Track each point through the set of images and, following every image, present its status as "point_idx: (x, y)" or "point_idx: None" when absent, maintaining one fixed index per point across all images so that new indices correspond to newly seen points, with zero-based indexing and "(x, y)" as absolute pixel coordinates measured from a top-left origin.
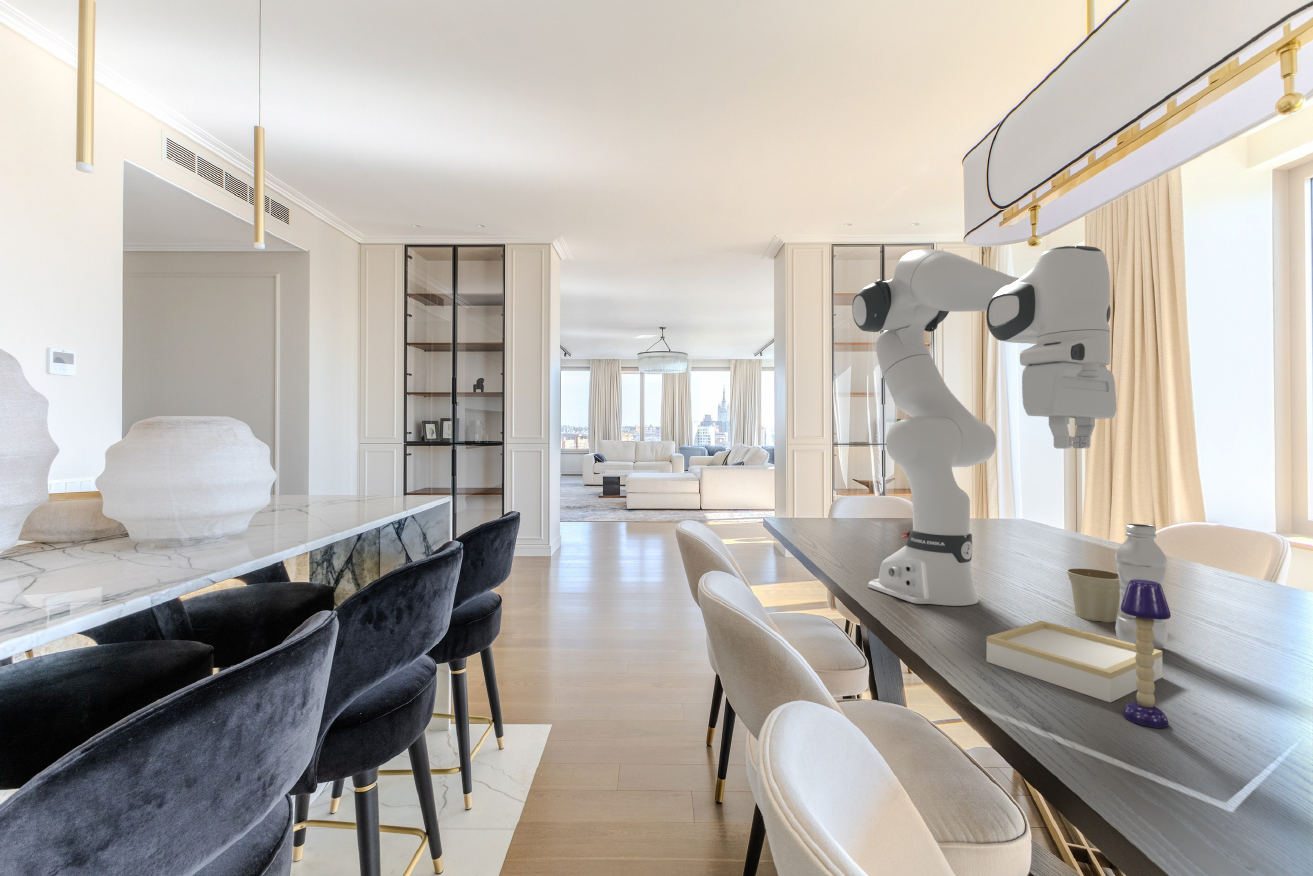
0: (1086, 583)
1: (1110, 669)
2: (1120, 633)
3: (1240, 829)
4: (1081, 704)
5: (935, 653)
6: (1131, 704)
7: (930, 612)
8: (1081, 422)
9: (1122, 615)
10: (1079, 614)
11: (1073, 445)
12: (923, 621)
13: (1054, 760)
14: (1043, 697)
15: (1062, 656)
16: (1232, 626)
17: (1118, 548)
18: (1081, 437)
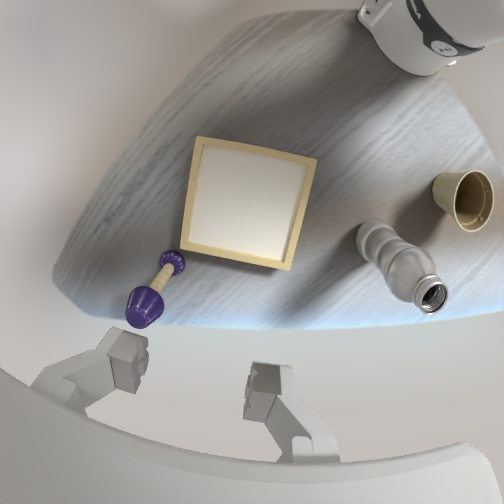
0: (451, 191)
1: (189, 247)
2: (363, 225)
3: (90, 301)
4: (165, 225)
5: (187, 94)
6: (166, 259)
7: (337, 37)
8: (283, 459)
9: (372, 233)
10: (438, 177)
11: (253, 366)
12: (291, 41)
13: (77, 235)
14: (155, 201)
15: (211, 203)
16: (473, 282)
17: (416, 257)
18: (246, 408)
